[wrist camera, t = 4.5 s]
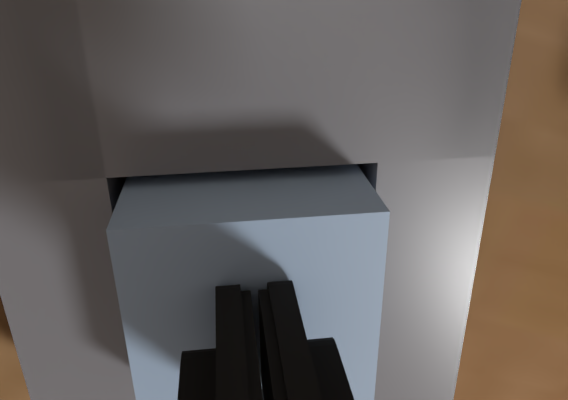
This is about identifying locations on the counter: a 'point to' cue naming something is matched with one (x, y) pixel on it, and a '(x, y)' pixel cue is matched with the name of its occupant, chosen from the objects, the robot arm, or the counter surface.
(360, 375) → the slate blue key
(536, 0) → the counter surface
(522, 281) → the counter surface
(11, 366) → the counter surface
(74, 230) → the key plate
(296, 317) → the robot arm
